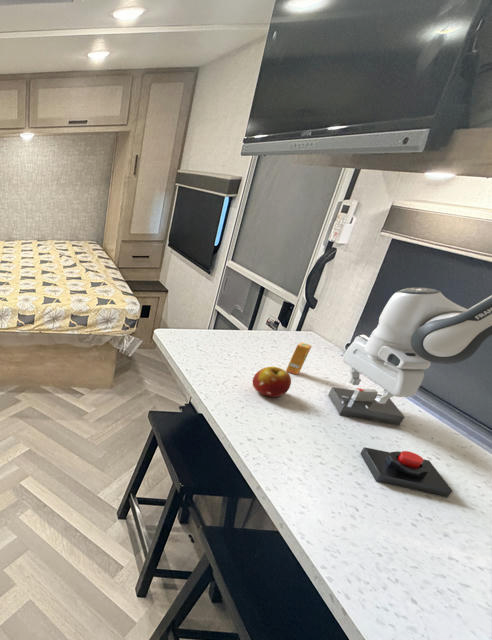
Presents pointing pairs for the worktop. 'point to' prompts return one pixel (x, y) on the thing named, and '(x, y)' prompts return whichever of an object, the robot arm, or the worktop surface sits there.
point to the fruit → (272, 381)
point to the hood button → (410, 459)
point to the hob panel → (365, 408)
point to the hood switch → (404, 473)
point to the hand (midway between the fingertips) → (366, 392)
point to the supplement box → (298, 358)
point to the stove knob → (364, 395)
